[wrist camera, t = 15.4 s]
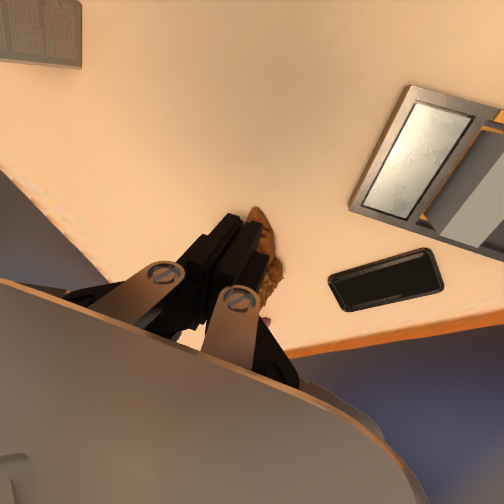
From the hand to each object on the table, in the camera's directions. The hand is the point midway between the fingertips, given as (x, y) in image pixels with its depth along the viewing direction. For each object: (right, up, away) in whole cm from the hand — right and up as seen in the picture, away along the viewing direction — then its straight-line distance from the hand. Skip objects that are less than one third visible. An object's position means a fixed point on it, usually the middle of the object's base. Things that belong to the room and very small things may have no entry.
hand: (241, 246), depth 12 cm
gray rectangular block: (+25, +8, +17) cm, 31 cm away
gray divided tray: (+26, +8, +18) cm, 32 cm away
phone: (+21, -5, +28) cm, 36 cm away
